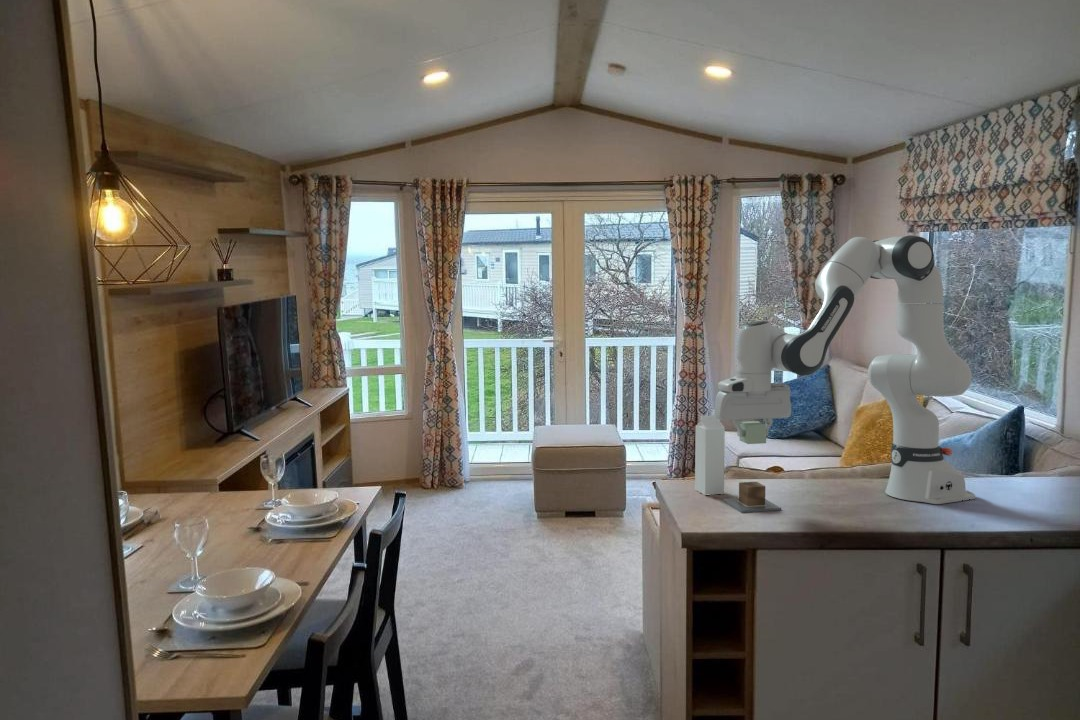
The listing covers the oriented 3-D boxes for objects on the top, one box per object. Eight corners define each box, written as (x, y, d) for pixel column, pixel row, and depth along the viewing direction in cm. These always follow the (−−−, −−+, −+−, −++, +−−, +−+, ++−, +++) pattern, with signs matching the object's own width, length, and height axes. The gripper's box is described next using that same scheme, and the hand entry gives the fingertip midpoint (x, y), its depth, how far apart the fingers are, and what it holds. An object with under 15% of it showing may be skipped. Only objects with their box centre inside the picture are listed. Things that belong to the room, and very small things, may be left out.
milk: (724, 494, 203) (725, 416, 201) (704, 496, 201) (706, 417, 199) (713, 489, 209) (714, 413, 207) (694, 490, 207) (695, 414, 205)
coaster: (761, 498, 198) (761, 496, 198) (781, 510, 187) (781, 507, 187) (723, 501, 196) (723, 498, 196) (741, 512, 185) (741, 510, 185)
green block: (757, 439, 193) (757, 421, 193) (766, 443, 188) (766, 424, 188) (739, 440, 192) (739, 421, 192) (748, 444, 187) (748, 424, 187)
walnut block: (756, 499, 194) (756, 481, 194) (765, 505, 189) (765, 486, 189) (738, 500, 193) (739, 482, 193) (747, 506, 189) (747, 487, 188)
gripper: (784, 381, 194) (783, 432, 195) (712, 383, 190) (711, 435, 191) (796, 383, 188) (795, 436, 189) (722, 385, 184) (721, 439, 185)
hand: (752, 435), depth 190 cm, fingers closed on green block, 5 cm apart
